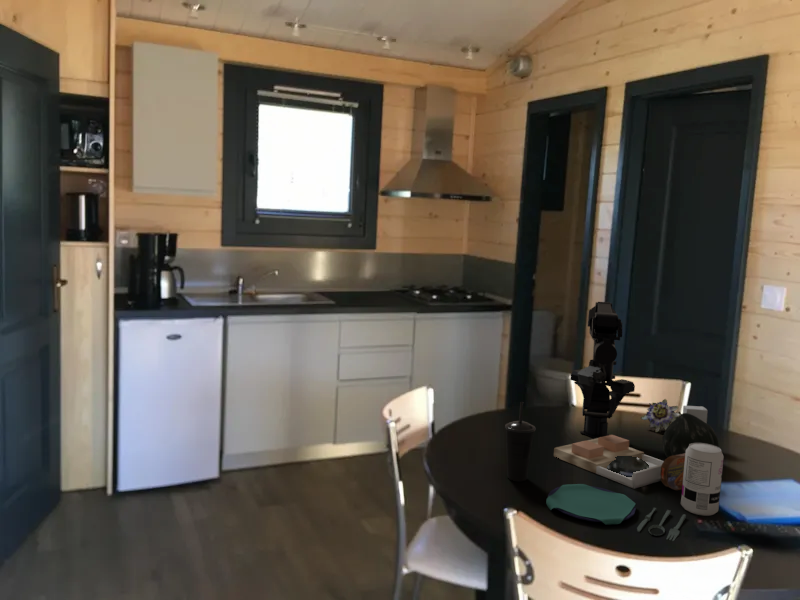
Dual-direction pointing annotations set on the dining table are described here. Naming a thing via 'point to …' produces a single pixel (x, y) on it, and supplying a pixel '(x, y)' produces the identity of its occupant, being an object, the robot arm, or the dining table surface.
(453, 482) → the dining table surface
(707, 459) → the supplement can
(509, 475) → the drinking cup
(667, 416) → the passion flower
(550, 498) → the cutlery set
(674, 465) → the snack packet
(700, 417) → the skincare box
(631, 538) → the dining table surface
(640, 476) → the tray
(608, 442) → the far tile
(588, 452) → the near tile
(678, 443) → the squash
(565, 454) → the board
